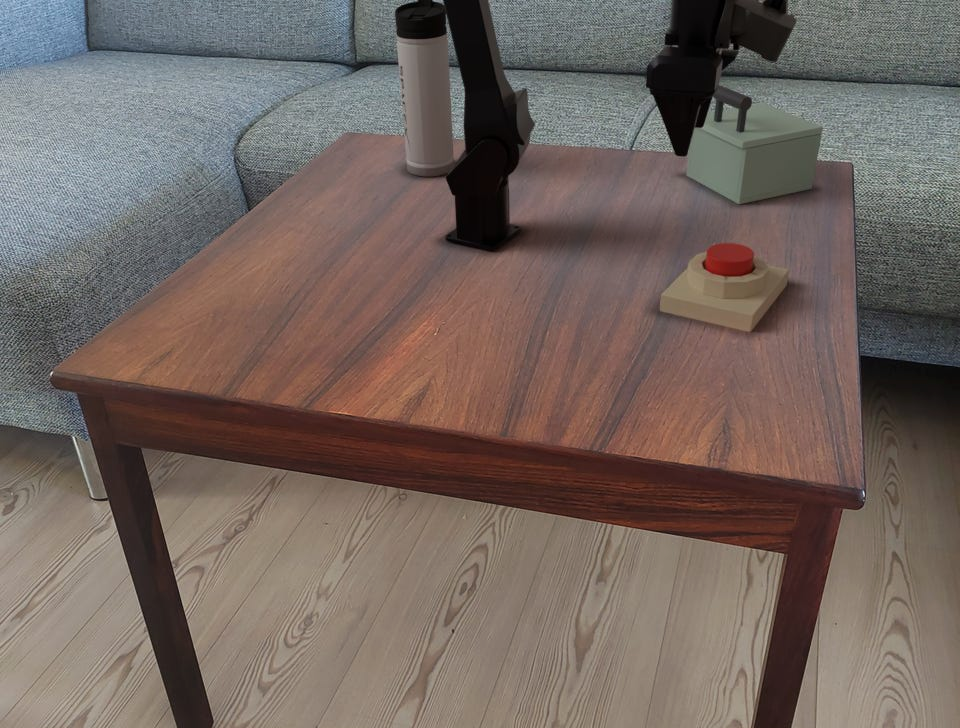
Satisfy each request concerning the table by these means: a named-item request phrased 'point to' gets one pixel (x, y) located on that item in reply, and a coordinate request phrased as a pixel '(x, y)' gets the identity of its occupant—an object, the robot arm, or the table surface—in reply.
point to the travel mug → (425, 87)
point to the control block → (724, 294)
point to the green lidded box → (752, 166)
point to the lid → (753, 121)
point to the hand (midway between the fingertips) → (689, 141)
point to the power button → (729, 260)
